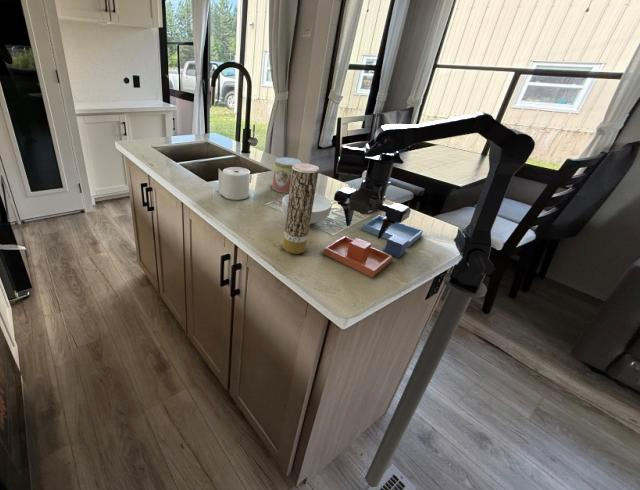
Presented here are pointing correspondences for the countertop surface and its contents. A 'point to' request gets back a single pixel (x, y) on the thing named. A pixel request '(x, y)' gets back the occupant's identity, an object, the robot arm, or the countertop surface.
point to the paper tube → (300, 207)
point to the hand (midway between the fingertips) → (363, 232)
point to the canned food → (283, 173)
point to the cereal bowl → (314, 208)
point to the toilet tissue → (234, 183)
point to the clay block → (358, 249)
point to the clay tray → (367, 266)
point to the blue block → (396, 246)
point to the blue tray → (393, 230)
